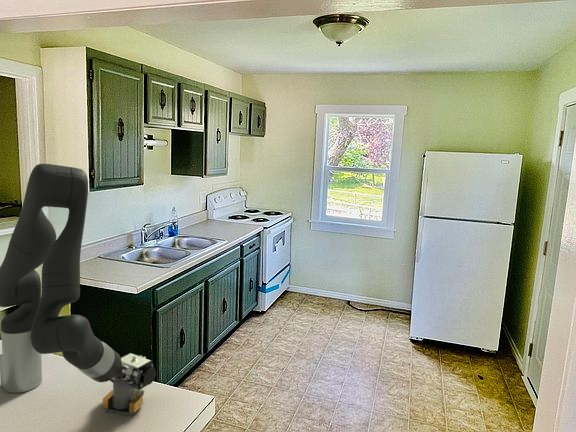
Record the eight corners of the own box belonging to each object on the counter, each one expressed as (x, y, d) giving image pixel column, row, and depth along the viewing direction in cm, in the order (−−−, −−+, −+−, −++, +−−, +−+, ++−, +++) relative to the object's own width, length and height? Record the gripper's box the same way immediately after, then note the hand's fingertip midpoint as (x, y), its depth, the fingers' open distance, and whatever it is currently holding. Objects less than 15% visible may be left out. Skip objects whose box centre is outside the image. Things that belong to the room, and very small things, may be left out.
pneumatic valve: (143, 407, 110) (143, 365, 108) (112, 394, 115) (112, 354, 113) (158, 397, 115) (158, 357, 113) (128, 385, 120) (128, 346, 118)
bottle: (109, 407, 107) (109, 371, 105) (119, 397, 111) (119, 362, 110) (125, 410, 106) (125, 374, 105) (135, 400, 110) (135, 365, 109)
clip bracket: (102, 411, 107) (102, 399, 107) (112, 401, 112) (112, 389, 111) (133, 417, 106) (133, 404, 105) (143, 406, 110) (143, 394, 110)
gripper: (132, 348, 97) (156, 370, 111) (77, 340, 100) (108, 363, 113) (119, 381, 93) (146, 400, 106) (62, 372, 95) (96, 392, 109)
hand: (126, 381), depth 110 cm, fingers open, 5 cm apart
